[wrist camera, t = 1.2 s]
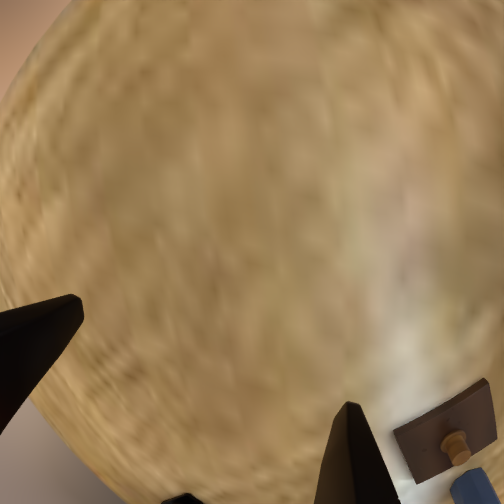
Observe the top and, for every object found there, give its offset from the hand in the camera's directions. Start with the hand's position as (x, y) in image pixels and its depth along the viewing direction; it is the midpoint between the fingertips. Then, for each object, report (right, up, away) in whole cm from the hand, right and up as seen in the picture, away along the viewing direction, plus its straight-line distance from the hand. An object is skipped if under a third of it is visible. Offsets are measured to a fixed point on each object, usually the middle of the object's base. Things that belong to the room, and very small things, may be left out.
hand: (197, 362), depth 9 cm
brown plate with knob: (+21, -15, +13) cm, 29 cm away
